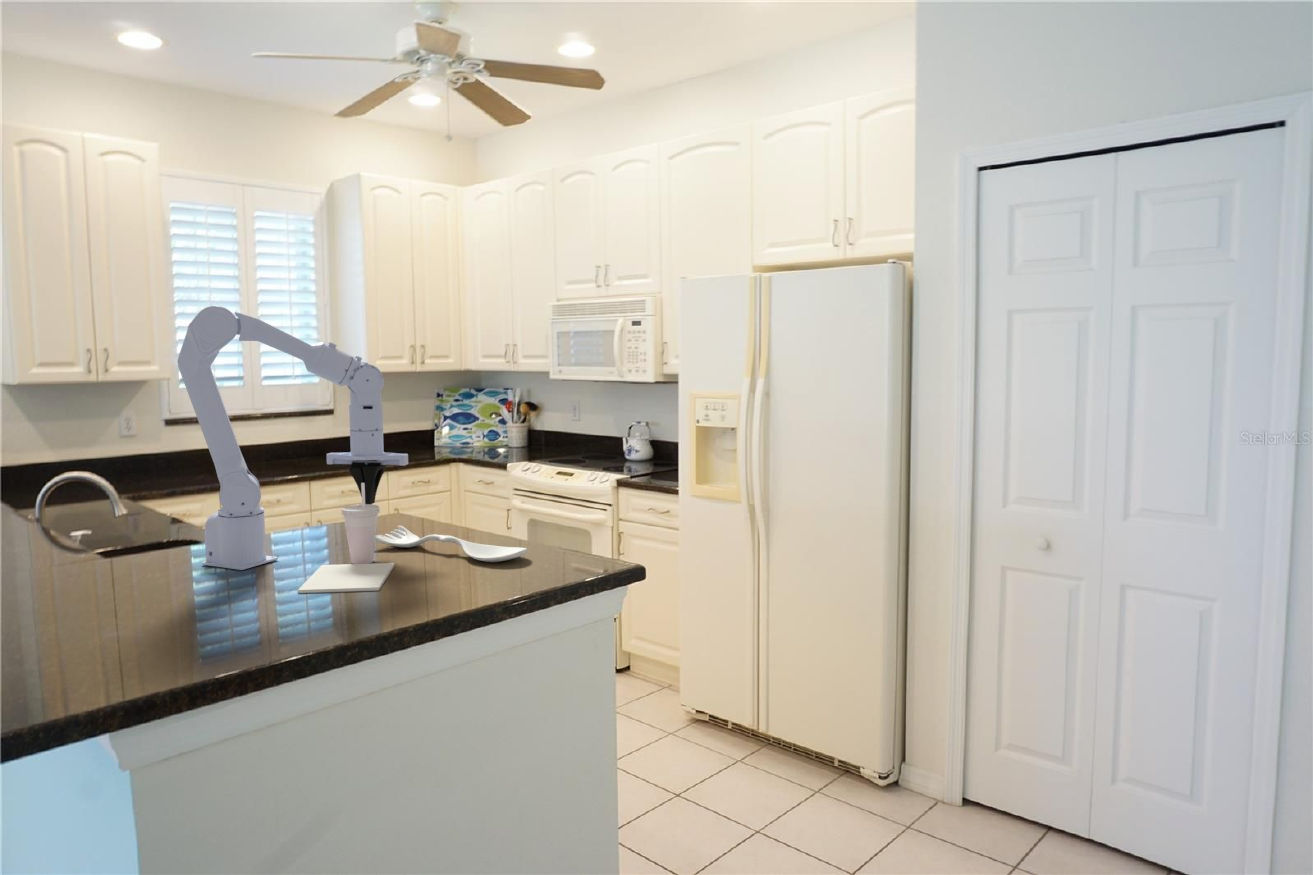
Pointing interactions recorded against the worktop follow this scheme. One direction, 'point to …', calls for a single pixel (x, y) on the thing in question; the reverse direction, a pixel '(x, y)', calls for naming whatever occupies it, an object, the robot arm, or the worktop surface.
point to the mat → (347, 578)
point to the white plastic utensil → (471, 549)
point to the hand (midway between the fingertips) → (368, 503)
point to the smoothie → (361, 530)
